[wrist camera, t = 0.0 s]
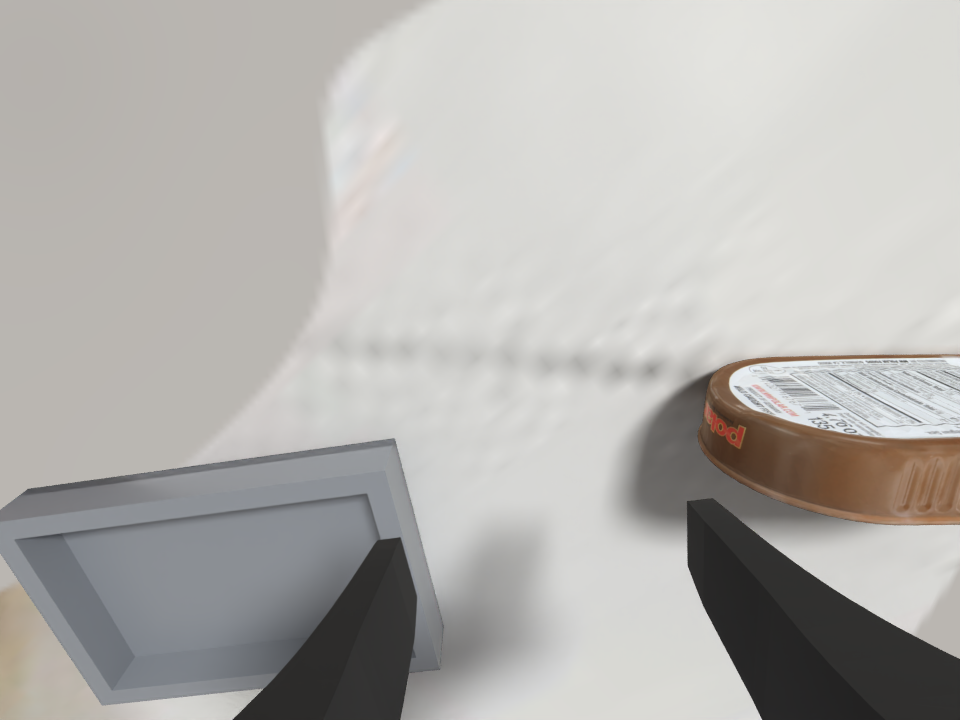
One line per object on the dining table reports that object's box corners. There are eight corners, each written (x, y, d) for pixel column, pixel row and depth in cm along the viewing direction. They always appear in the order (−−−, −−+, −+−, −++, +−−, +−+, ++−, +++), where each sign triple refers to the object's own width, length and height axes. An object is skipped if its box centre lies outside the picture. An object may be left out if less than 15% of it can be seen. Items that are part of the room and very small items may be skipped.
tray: (443, 626, 28) (439, 669, 26) (132, 661, 29) (102, 705, 27) (394, 438, 23) (384, 470, 21) (28, 489, 24) (-20, 524, 22)
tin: (667, 410, 23) (763, 546, 15) (676, 344, 22) (785, 455, 14) (1008, 404, 23) (1286, 539, 15) (1037, 337, 21) (1355, 445, 14)
